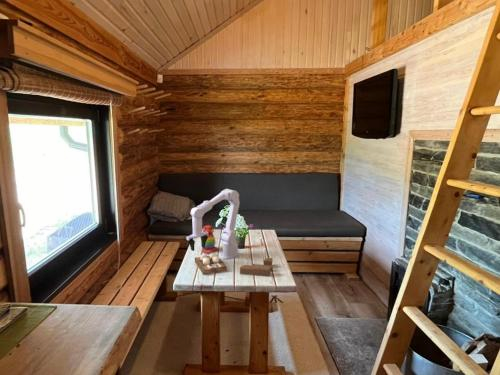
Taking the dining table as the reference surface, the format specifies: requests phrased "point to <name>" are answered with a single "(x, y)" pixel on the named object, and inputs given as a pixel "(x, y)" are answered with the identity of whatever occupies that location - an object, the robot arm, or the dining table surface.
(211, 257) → the button
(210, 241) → the stacking bear
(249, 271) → the wooden block set
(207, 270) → the button board
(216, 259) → the button
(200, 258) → the button
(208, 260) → the button
